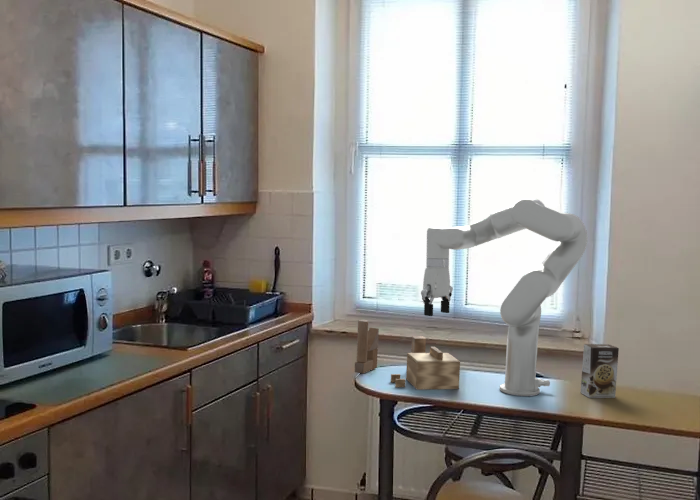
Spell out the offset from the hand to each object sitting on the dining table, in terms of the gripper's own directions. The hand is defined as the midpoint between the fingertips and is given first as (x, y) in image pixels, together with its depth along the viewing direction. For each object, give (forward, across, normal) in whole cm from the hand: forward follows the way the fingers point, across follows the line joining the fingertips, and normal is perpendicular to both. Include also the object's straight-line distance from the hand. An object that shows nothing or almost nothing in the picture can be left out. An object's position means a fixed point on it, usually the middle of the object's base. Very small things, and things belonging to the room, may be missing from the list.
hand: (436, 314), depth 257 cm
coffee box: (+24, -21, +48) cm, 57 cm away
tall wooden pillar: (+21, -2, -10) cm, 24 cm away
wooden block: (+21, +10, -22) cm, 32 cm away
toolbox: (+22, +11, +2) cm, 24 cm away
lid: (+14, +8, +4) cm, 16 cm away
